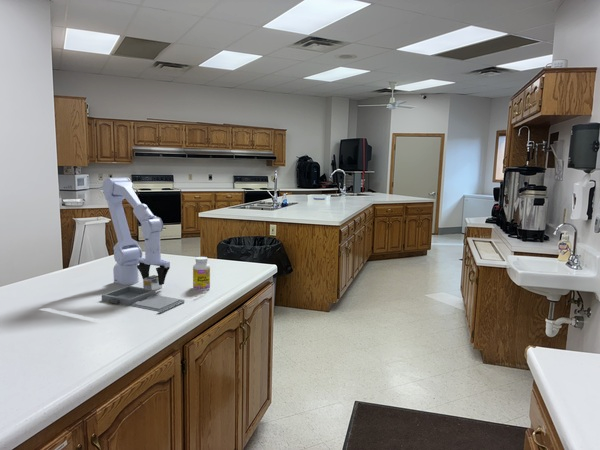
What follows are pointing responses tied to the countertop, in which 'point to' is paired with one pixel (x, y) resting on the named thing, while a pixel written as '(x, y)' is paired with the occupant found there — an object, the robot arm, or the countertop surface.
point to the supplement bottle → (201, 274)
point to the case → (141, 299)
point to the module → (151, 283)
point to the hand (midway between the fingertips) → (153, 283)
